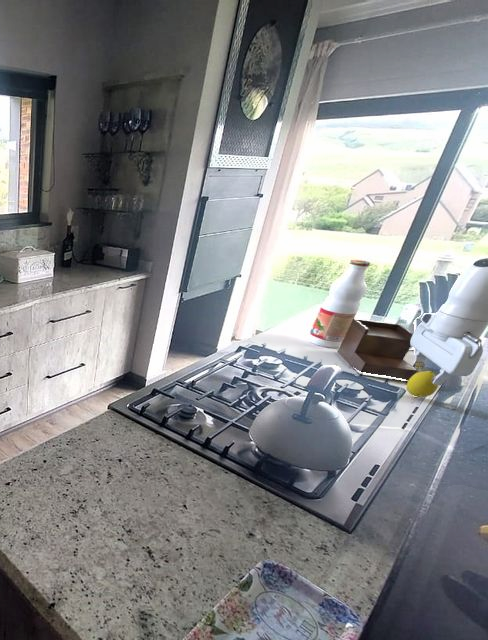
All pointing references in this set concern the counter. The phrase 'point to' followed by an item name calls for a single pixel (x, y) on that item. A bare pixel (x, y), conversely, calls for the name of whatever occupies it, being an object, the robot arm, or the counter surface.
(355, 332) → the brown stepped wooden block
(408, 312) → the syrup box
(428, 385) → the lemon
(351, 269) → the fruit juice
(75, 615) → the counter surface
